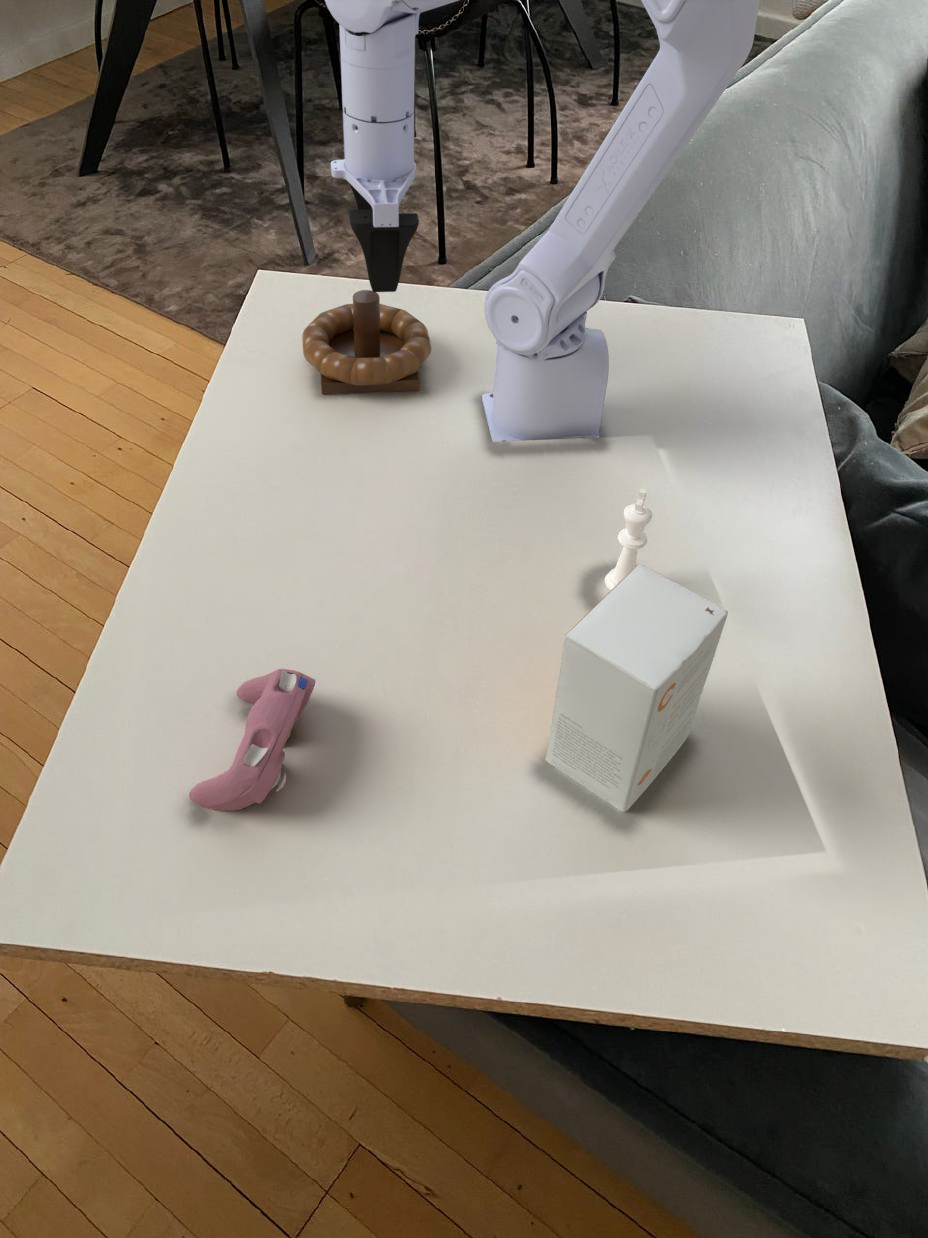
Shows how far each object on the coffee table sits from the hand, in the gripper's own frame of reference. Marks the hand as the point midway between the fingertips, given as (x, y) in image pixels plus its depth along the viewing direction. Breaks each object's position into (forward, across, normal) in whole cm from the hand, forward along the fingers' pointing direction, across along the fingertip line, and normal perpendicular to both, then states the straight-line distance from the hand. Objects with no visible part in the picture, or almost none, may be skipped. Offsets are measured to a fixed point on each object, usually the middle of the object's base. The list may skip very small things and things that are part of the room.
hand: (381, 268), depth 93 cm
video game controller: (+10, +46, -11) cm, 48 cm away
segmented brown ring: (+7, +1, -2) cm, 7 cm away
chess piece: (+10, +33, +16) cm, 38 cm away
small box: (+10, +48, +12) cm, 50 cm away
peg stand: (+9, +1, -2) cm, 9 cm away
